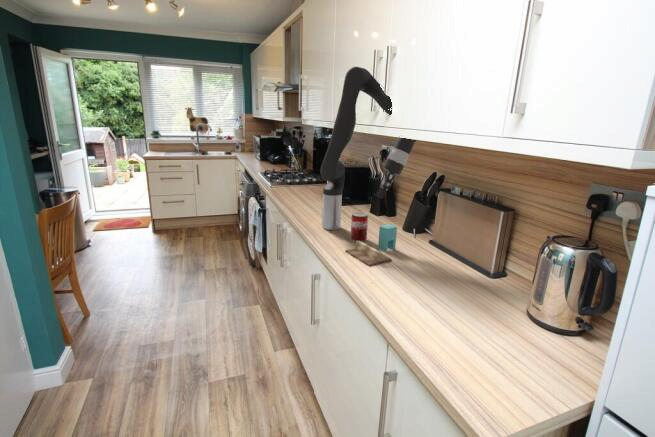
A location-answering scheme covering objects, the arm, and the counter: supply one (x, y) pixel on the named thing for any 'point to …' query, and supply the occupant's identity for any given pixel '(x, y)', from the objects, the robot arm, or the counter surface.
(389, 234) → the notched post
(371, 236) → the counter surface
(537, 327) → the counter surface
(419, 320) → the counter surface
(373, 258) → the rail board
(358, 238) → the soda can
